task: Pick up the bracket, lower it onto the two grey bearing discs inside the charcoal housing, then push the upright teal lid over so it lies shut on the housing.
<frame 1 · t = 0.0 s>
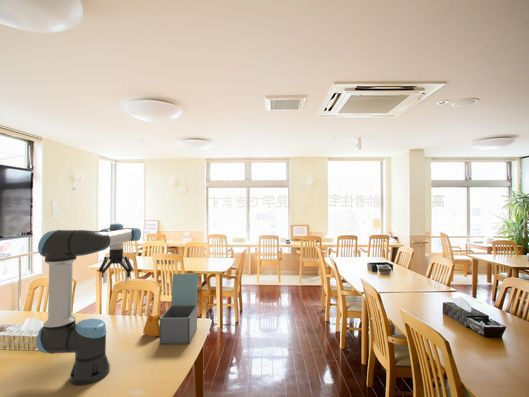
hand: (116, 282, 175), 28 cm above the table, fingers open, 13 cm apart
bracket: (155, 333, 167), on the table
housing: (179, 335, 164), on the table
lid: (184, 289, 176), point 23 cm above the table, hinge at 100.0°
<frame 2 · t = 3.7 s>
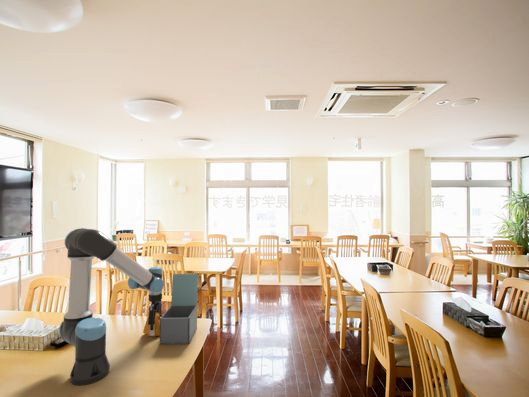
hand: (155, 331, 167), 1 cm above the table, fingers closed on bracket, 9 cm apart
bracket: (155, 333, 167), on the table, touching gripper
everything else where it was.
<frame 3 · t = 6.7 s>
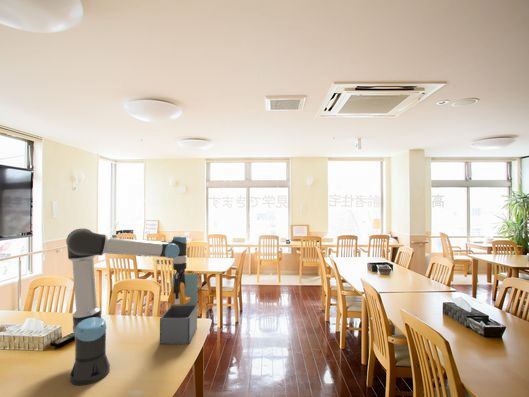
hand: (179, 301, 164), 20 cm above the table, fingers closed on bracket, 9 cm apart
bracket: (179, 303, 164), point 19 cm above the table, touching gripper
everything else where it was.
when the fingers open (3 cm above the table, at t = 9.7 s): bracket drops 1 cm, resting on housing.
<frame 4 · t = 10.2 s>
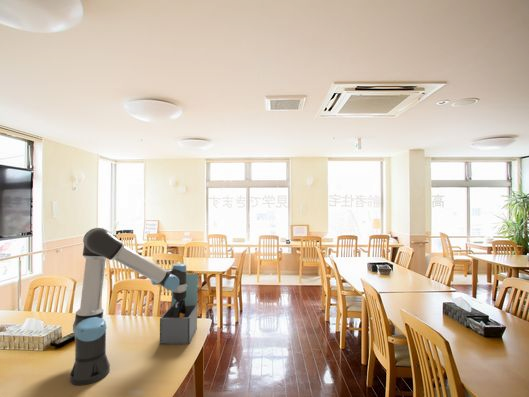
hand: (179, 329, 164), 4 cm above the table, fingers open, 10 cm apart
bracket: (179, 334, 164), point 1 cm above the table, touching housing
everything else where it was.
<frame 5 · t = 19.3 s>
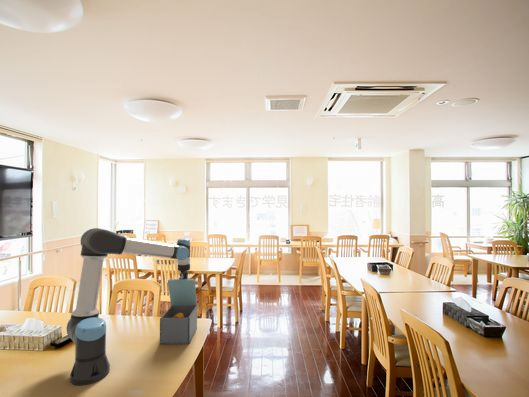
hand: (183, 301, 175), 16 cm above the table, fingers closed
lid: (182, 292, 171), point 23 cm above the table, hinge at 67.1°, touching gripper
everything else where it was.
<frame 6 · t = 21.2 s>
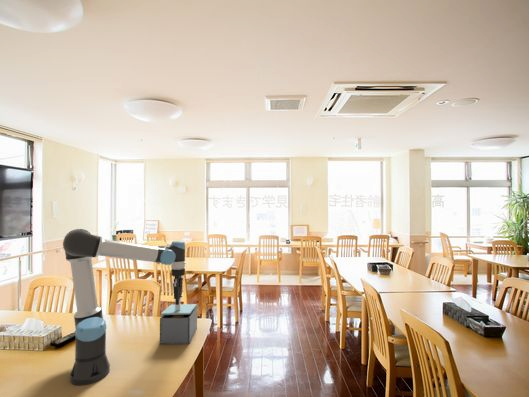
hand: (177, 309, 161), 16 cm above the table, fingers closed
lid: (179, 309, 165), point 15 cm above the table, hinge at 4.8°
everything else where it was.
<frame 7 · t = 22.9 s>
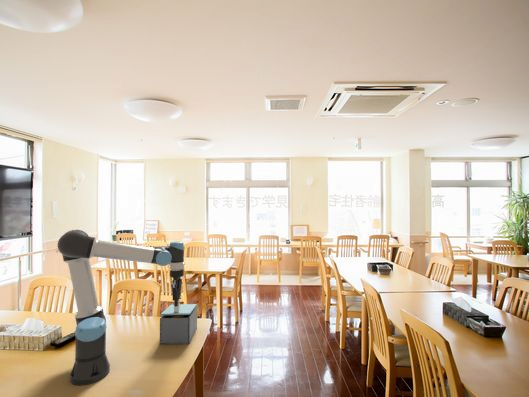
hand: (176, 311, 158), 16 cm above the table, fingers closed
lid: (179, 309, 165), point 15 cm above the table, hinge at 4.2°, touching gripper
everything else where it was.
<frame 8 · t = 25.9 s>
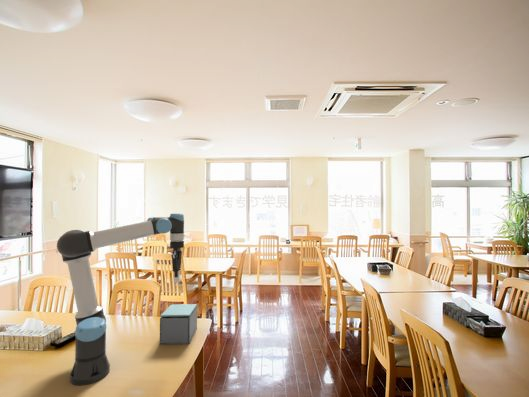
hand: (176, 282, 159), 32 cm above the table, fingers closed
lid: (179, 309, 165), point 15 cm above the table, hinge at 2.0°
everything else where it was.
at the end: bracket inside the target area on the housing (0.1 cm from its centre), point 0.8 cm above the housing's base; lid at +2° (first picture: +100°) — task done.
